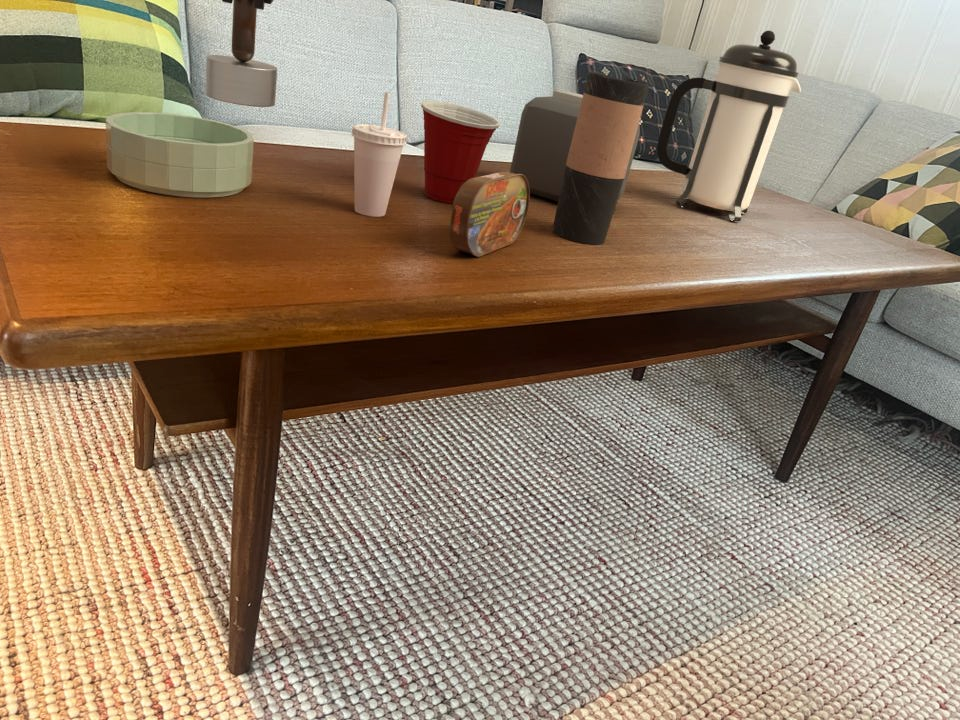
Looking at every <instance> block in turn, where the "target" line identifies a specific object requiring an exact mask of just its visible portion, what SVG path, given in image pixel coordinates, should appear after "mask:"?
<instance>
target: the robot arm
mask: <svg viewBox="0 0 960 720" xmlns="http://www.w3.org/2000/svg"><path fill="white" fill-rule="evenodd" d="M221 2H222V3H225V4H226V3H227V4H231V5H233V0H222V1H221ZM273 2H274V0H254V8H256V9H257V10H260V11H264V10H265V5H266V4H267V5H272V4H273Z"/></svg>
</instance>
